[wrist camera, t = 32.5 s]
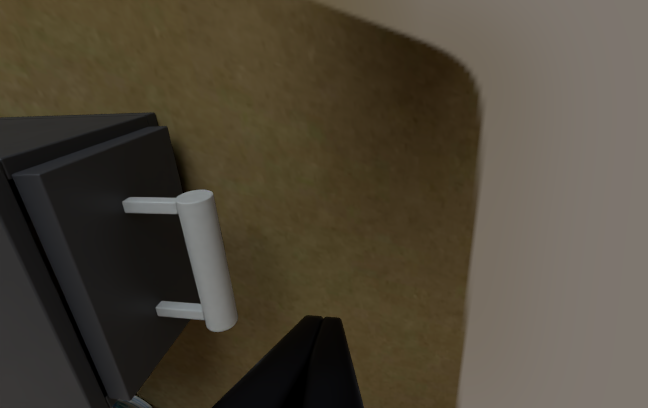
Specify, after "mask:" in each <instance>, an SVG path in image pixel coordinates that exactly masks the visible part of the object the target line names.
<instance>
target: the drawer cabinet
mask: <svg viewBox="0 0 648 408" xmlns="http://www.w3.org/2000/svg"><path fill="white" fill-rule="evenodd" d="M156 126H158V124H157V120H156V116H155V113H125V114H95V115H65V116H35V117H5V118H0V408H112V406H113V405H114V404H115V403H116V401H117V400H118V399H111V398H109V396H108V394H107V392H106V390H105V387H104V385H103V383H102V381H101V378H100V376H99V374H98V371H97V369H96V368H95V369H94V371H93V370H92V368H91V366H90V363H89V361H88V359H87V357H86V354H85V352H84V350H83V348H82V345H81V343H80V341H79V339H78V337H77V334H76V332H75V330H74V328H73V325H72V323H71V321H70V319H69V316H68V314H67V312H66V310H65V307H64V305H63V303H62V301H61V298H60V296H59V294H58V292H57V289H56V287H55V285H54V283H53V280H52V278H51V276H50V274H49V271H48V269H47V267H46V265H45V262H44V260H43V258H42V256H41V254H40V251H39V249H38V247H37V245H36V242H35V240H34V238H33V236H32V233H31V231H30V229H29V227H28V224H27V222H26V220H25V218H24V215H23V213H22V211H21V209H20V206H19V204H18V202H17V200H16V197H15V195H14V193H13V191H12V188H11V186H10V184H9V182H8V180H10V179H13V178H12V174H14V173H16V172H19V171H22V170H25V169H28V168H31V167H34V166H37V165H39V164H42V163H45V162H48V161H51V160H54V159H57V158H60V157H62V156H65V155H68V154H71V153H74V152H77V151H80V150H83V149H85V148H88V147H91V146H94V145H97V144H100V143H103V142H106V141H109V140H111V139H114V138H117V137H120V136H123V135H126V134H129V133H132V132H134V131H137V130H140V129H143V128H146V127H156Z"/></svg>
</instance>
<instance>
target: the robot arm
mask: <svg viewBox="0 0 648 408" xmlns="http://www.w3.org/2000/svg"><path fill="white" fill-rule="evenodd" d="M212 408H364V406H363V402H362V398H361V394H360V390H359V386H358V383H357V379H356V375H355V371H354V367H353V363H352V359H351V355H350V351H349V348H348V344H347V340H346V336H345V332H344V328H343V324H342V321H341V319H340V318H337V317H324V319H323V317H321V316H312V315H307V316H305V317H304V318H303V319H302V320H301V321H300V322H299V323H298V324H297V325H296V326H295V327H294V328H293V329H292V330H291V331H290V332H289V333H287V334H286V335H285V336H284V337H283V338H282V339H281V340H280V341H279V342H278V343H277V344H276V345H275V346H274V347H273V348H272V349H271V350H270V351H269V352H268V353H267V354H266V355H265V356H264V357H263V358H262V359H261V360H260V361H259V362H258V363H257V364H256V365H255V366H254V367H253V368H252V369H251V370H250V371H249V372H248V373H247V374H246V375H245V376H244V377H243V378H242V379H241V380H240V381H238V382H237V383H236V384H235V385H234V386H233V387H232V388H231V389H230V390H229V391H228V392H227V393H226V394H225V395H224V396H223V397H222V398H221V399H220V400H219V401H218V402H217V403H216V404H215V405H214V406H213V407H212Z"/></svg>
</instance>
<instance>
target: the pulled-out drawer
mask: <svg viewBox="0 0 648 408" xmlns="http://www.w3.org/2000/svg"><path fill="white" fill-rule="evenodd" d="M12 178H13V179H10V180H8V182H9V184H10V186H11V188H12V191H13V193H14V195H15V197H16V200H17V202H21V201H23V203H24V205H25V207H26V210H27V212H28V214H29V216H30V219H31V221H32V223H33V226H34V228H35V230H36V232H37V235H38V237H39V239H40V241H41V244H42V246H43V248H44V251H45V253H46V255H47V257H48V260H49V262H50V264H51V267H52V269H53V271H54V273H55V276H56V278H57V280H58V282H59V285H60V287H61V289H62V292H63V294H64V295H62V296H61V297H60V298H61V301H62V303H63V305H64V307H65V310H66V312H67V314H68V316H69V319H70V321H71V323H72V325H73V328H74V330H75V332H76V334H77V337H78V339H79V341H80V343H81V345H82V348H83V350H84V352H85V354H86V357H87V359H88V361H89V363H90V366H91V368H92V370H93V371H94V369H95V368H96V369H97V371H98V374H99V376H100V378H101V381H102V383H103V385H104V387H105V390H106V392H107V394H108V396H109V398H111V399H119V400H126V401H131V400H132V398H133V397H134V396H135V394H136V393H137V392H138V390H139V389H140V387H141V386H142V385H143V383H144V382H145V381H146V379H147V378H148V377H149V375H150V374H151V373H152V371H153V370H154V369H155V367H156V366H157V364H158V363H159V362H160V360H161V359H162V358H163V356H164V355H165V354H166V352H167V351H168V350H169V348H170V347H171V345H172V344H173V343H174V341H175V340H176V339H177V337H178V336H179V335H180V333H181V332H182V331H183V329H184V328H185V326H186V325H187V324H188V322H189V321H190V320H191V319H196V320H205V322H206V326H207V328H208V329H209V330H210V331H213V332H222V331H225V330H228V329H230V328H231V327H233V326H234V325H235V324H236V322H237V320H238V314H237V309H236V304H235V299H234V294H233V289H232V284H231V279H230V274H229V269H228V264H227V259H226V254H225V249H224V244H223V239H222V234H221V229H220V224H219V219H218V215H217V210H216V205H215V200H214V195H213V192H212V191H209V190H193V191H189V192H186V193H183V191H182V187H181V183H180V178H179V174H178V170H177V166H176V162H175V157H174V153H173V149H172V145H171V141H170V136H169V132H168V128H167V127H166V126H156V127H146V128H143V129H140V130H137V131H134V132H132V133H129V134H126V135H123V136H120V137H117V138H114V139H111V140H109V141H106V142H103V143H100V144H97V145H94V146H91V147H88V148H85V149H83V150H80V151H77V152H74V153H71V154H68V155H65V156H62V157H60V158H57V159H54V160H51V161H48V162H45V163H42V164H39V165H37V166H34V167H31V168H28V169H25V170H22V171H19V172H16V173H14V174H12Z"/></svg>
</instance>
